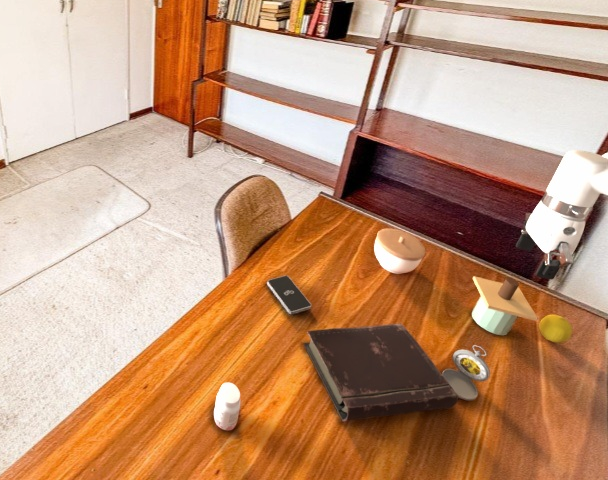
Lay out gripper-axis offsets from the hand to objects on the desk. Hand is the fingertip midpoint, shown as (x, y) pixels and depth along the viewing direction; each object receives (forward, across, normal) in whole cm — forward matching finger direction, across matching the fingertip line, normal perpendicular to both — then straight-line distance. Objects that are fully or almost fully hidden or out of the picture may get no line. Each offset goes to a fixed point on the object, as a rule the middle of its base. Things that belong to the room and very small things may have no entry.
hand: (533, 262), depth 95 cm
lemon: (+22, -1, -10) cm, 24 cm away
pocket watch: (+21, -22, +15) cm, 34 cm away
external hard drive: (+20, -12, +53) cm, 58 cm away
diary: (+21, -27, +34) cm, 48 cm away
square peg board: (+13, 0, +2) cm, 13 cm away
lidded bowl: (+21, +13, +23) cm, 34 cm away
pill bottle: (+20, -48, +64) cm, 83 cm away
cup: (+21, 0, +2) cm, 21 cm away
